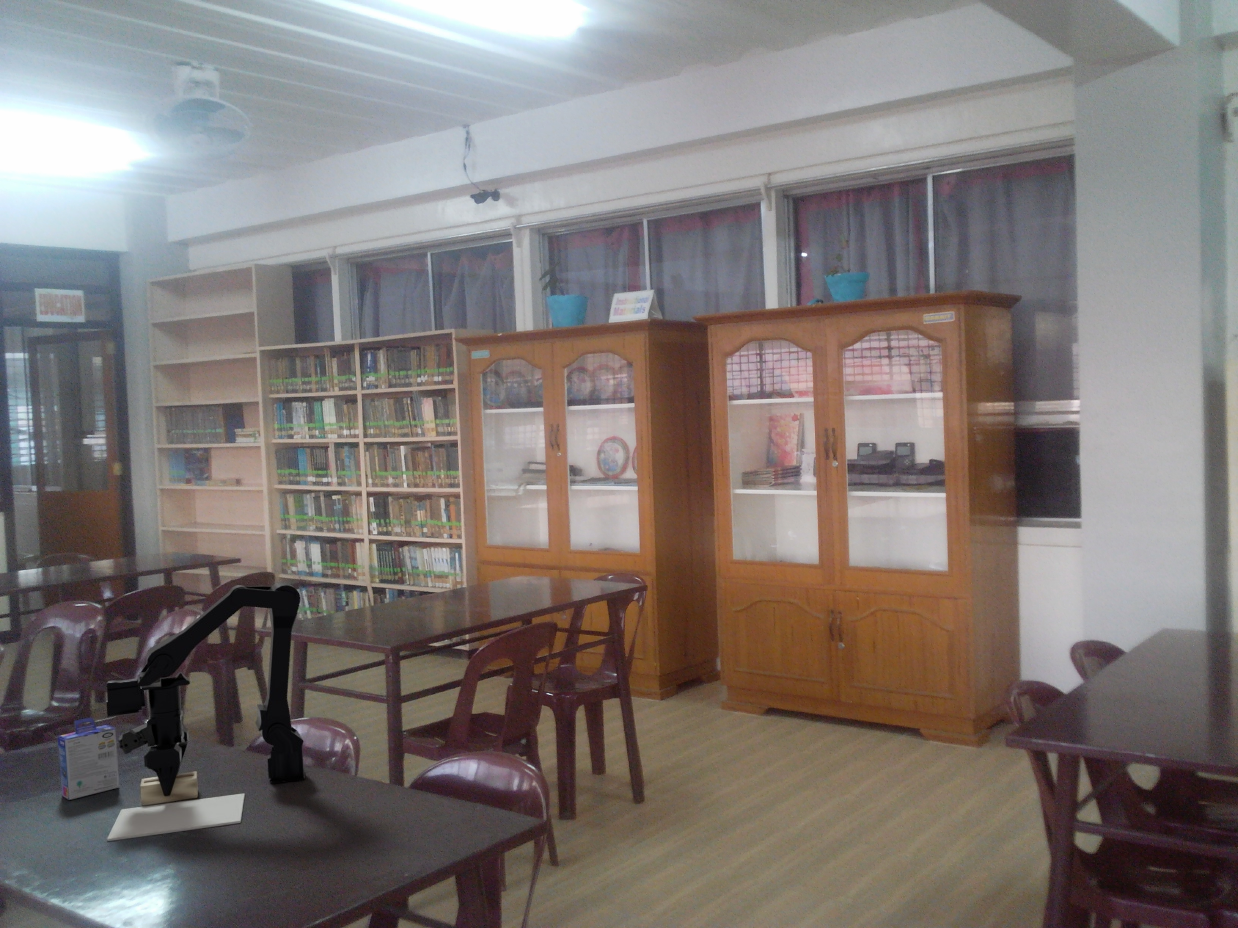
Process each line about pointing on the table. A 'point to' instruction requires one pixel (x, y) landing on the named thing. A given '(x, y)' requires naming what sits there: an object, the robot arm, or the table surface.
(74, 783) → the ink cartridge box
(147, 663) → the robot arm
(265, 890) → the table surface
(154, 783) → the grooved beige block
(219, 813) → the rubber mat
